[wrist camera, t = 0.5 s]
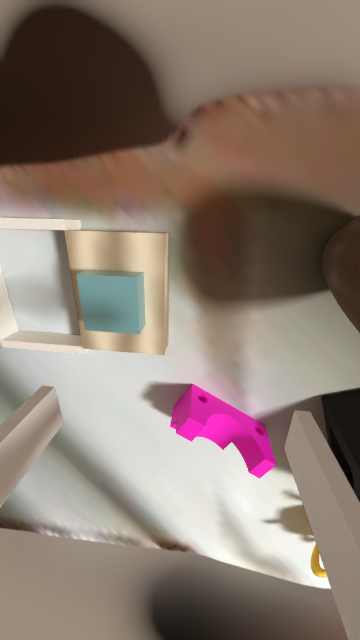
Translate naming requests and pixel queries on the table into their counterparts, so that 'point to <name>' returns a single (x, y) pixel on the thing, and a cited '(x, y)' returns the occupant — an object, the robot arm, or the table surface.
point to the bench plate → (132, 256)
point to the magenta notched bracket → (223, 428)
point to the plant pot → (344, 269)
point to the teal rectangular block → (112, 301)
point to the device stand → (345, 433)
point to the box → (3, 324)
